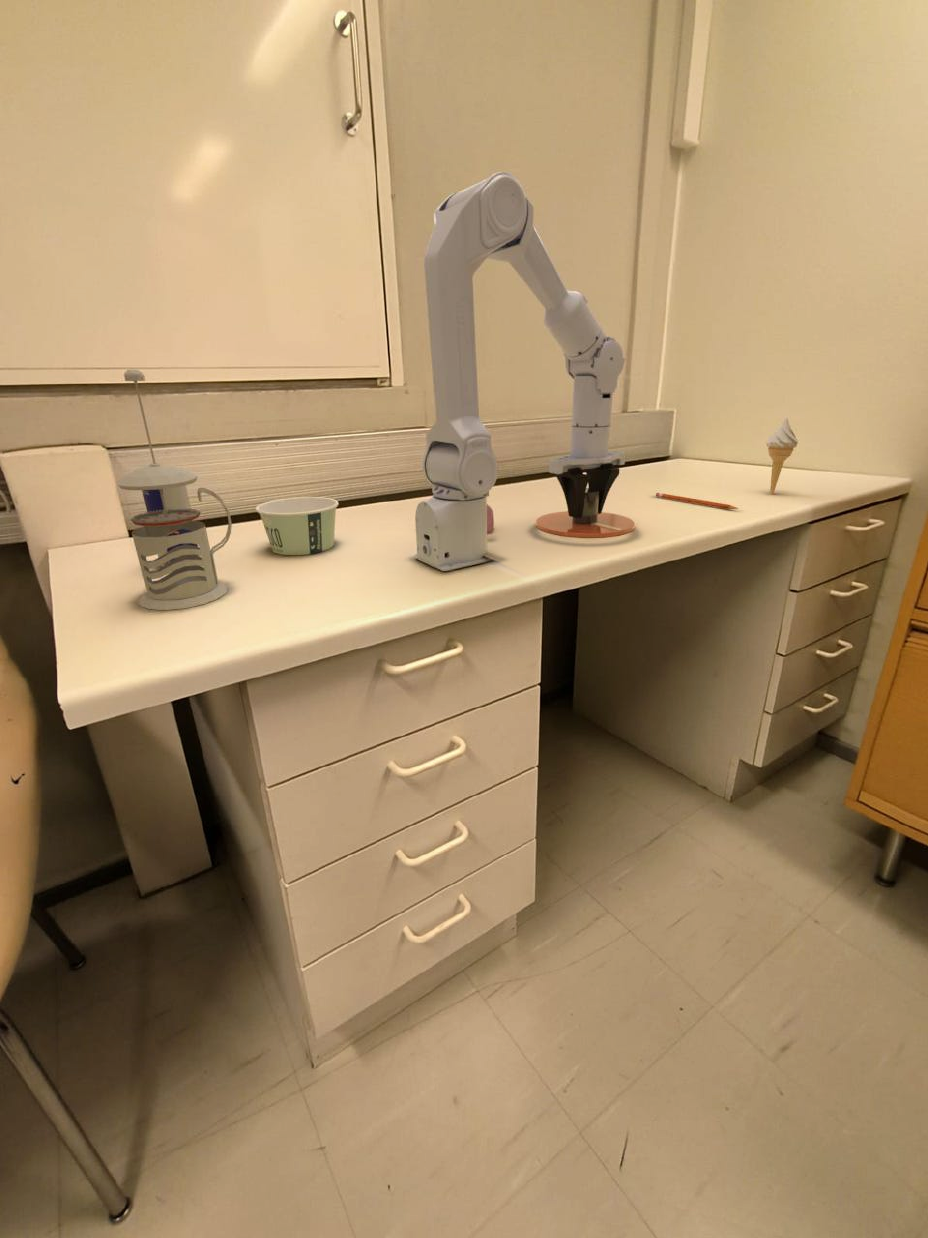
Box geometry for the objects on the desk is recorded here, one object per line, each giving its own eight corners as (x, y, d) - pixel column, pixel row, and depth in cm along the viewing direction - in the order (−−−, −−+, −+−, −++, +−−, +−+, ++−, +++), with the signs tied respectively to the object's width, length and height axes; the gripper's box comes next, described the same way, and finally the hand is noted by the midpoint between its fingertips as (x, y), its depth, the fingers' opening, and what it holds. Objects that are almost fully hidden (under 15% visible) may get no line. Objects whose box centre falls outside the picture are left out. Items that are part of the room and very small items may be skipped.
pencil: (657, 495, 116) (658, 492, 116) (740, 510, 103) (740, 506, 103) (655, 496, 116) (655, 492, 116) (737, 510, 102) (738, 506, 102)
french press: (142, 588, 70) (85, 370, 61) (240, 574, 75) (202, 368, 65) (135, 615, 62) (68, 368, 52) (246, 598, 66) (203, 366, 57)
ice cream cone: (750, 492, 118) (764, 416, 112) (772, 490, 120) (786, 415, 114) (771, 497, 113) (786, 418, 107) (793, 495, 115) (810, 417, 109)
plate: (516, 523, 93) (517, 489, 91) (583, 510, 101) (585, 478, 99) (585, 543, 81) (587, 504, 79) (655, 526, 89) (659, 491, 87)
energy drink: (156, 571, 77) (134, 482, 72) (164, 560, 81) (144, 476, 77) (199, 567, 78) (180, 479, 73) (204, 557, 83) (187, 473, 78)
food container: (358, 544, 87) (354, 502, 85) (293, 563, 79) (286, 517, 76) (311, 532, 95) (306, 493, 92) (246, 549, 86) (239, 506, 83)
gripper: (574, 430, 78) (569, 526, 84) (643, 424, 86) (635, 512, 91) (541, 427, 84) (538, 517, 89) (608, 421, 91) (602, 505, 97)
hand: (585, 514), depth 91 cm, fingers closed on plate, 4 cm apart
